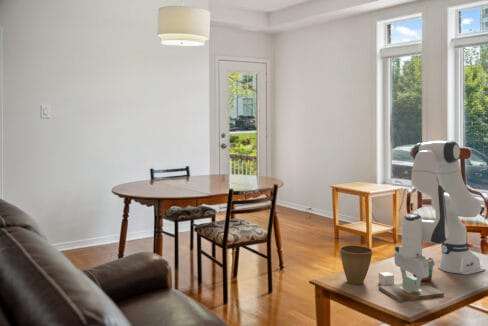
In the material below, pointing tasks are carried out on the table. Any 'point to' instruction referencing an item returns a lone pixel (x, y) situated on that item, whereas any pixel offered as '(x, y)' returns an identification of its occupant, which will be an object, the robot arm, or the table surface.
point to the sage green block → (410, 283)
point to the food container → (430, 265)
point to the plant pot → (355, 262)
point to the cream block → (386, 278)
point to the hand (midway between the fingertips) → (410, 281)
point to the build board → (404, 295)
